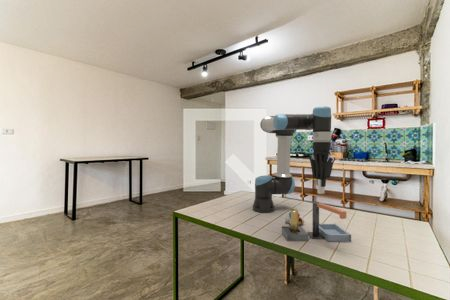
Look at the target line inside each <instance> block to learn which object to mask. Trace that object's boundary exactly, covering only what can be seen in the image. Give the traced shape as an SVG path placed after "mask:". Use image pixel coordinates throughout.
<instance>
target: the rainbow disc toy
mask: <svg viewBox="0 0 450 300" xmlns="http://www.w3.org/2000/svg"><path fill="white" fill-rule="evenodd" d="M284 221H285V222H286V223H287V224H290V226H291V211H290V212H288V215H286V216H285V218H284ZM304 224H305V220H304V218H303V217H301V216H300V213H299V212H298V226H302V225H304Z"/></svg>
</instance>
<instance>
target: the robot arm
mask: <svg viewBox="0 0 450 300" xmlns="http://www.w3.org/2000/svg"><path fill="white" fill-rule="evenodd" d="M312 109H313V110H312V113H309V114H302V113H300V114H298V113H296V114H293V113H292V114H288V113H287V114H284V113H279V114H275V115H270V116H266V117H264V118H262V119H261V121H260V123H259V125H260V128H261V130H262V131H263V132H265V133H267V134H268V133H269V134H275V137H276V139H277V151H276V153H277V154H276V157H277V159H276V172H275V173H274V177H273V176H272V175H269V174H268V175H267V174H266V175H265V174H264V175H260V176H257V177H256V178H255V179H254V200H253V204H252V210H253V211H254V212H257V213H260V214H261V213H263V214H264V213H265V214H267V213H273V212H275V209H276V208H275V204H274V201H273V195H291V194H292V193H293V192H294V190H295V187H296V181H295V178H294V177H293V175H292V174H291V172H290V171H291V170H290V169H291V144H292V143H291V141H292V140H291V139H292V138H293V137H294V134H296V132H297V131H300V130H301V131H302V130H303V131H304V130H305V131H312V151H313V152H312V155H309V156H308V160H309V163H310V167H311V173H312V177H314V178H315V179H316V186H317V192H316V193H317V194H318V195H323V194H324V195H325V187H326V186H327V185H326V183H327V182H326V181H327V180H328V179H330V178H331V174H332V170H333V166H334V162H335V161H336V157H333V156H331V152H330V151H331V149H332V148H331V146H332V144H331V140H332V108H331V107H330V106H325V105H324V106H316V107H315V106H314V107H313V108H312Z"/></svg>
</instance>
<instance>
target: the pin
mask: <svg viewBox="0 0 450 300" xmlns="http://www.w3.org/2000/svg"><path fill="white" fill-rule="evenodd" d="M290 212H291V225H290V226H291V232H298V226H299V225H298V213H299V210H298V209H295V208H294V209H290Z"/></svg>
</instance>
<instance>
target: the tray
mask: <svg viewBox="0 0 450 300" xmlns="http://www.w3.org/2000/svg"><path fill="white" fill-rule="evenodd" d="M319 232H320V233H321V234H322V235H323V236H324V237H325V239H324V240H325V241H326V242H327V243H331V242H333V243H339V242H340V243H341V242H343V243H346V242H348V243H350V242H352V234H351V233H349V232H348V231H346V230H345V229H344V228H342V227H341V226H340V225H339V224H337V223H319Z"/></svg>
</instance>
